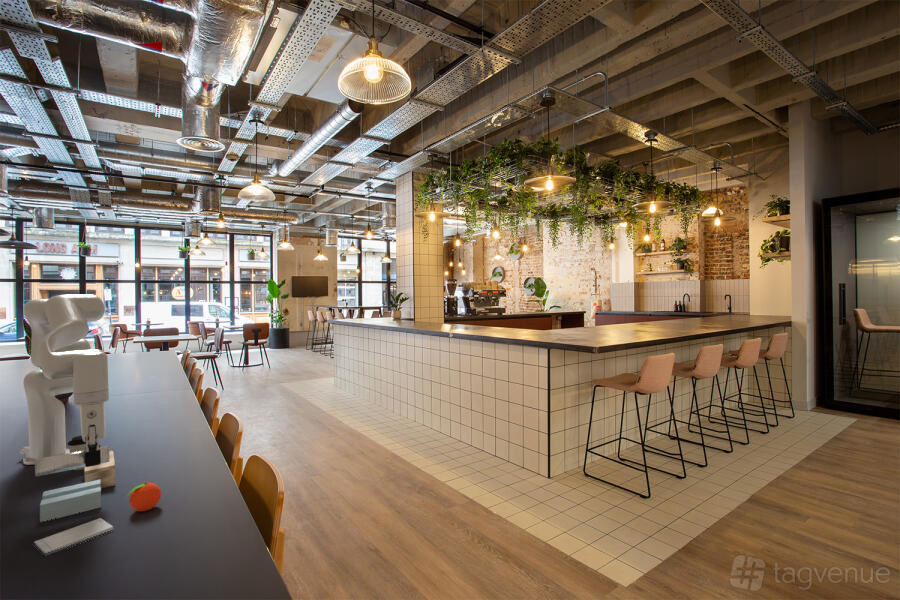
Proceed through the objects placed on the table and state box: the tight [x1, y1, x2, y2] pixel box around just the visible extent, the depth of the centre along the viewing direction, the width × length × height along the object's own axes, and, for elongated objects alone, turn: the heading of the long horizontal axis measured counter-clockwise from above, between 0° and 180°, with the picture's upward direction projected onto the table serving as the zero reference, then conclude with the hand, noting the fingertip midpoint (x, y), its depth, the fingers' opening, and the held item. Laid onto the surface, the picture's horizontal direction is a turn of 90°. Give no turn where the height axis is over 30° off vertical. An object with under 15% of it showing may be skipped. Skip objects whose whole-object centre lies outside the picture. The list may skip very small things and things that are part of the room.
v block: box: [39, 480, 102, 523], centre depth 118 cm, size 12×12×4 cm
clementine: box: [125, 482, 162, 512], centre depth 115 cm, size 8×7×7 cm
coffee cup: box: [67, 435, 86, 471], centre depth 145 cm, size 7×7×10 cm
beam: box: [84, 450, 116, 489], centre depth 135 cm, size 7×16×6 cm, turn 39°
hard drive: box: [33, 517, 114, 553], centre depth 102 cm, size 2×8×12 cm
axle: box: [34, 445, 110, 478], centre depth 118 cm, size 15×4×4 cm, turn 129°
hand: (93, 462), depth 121 cm, fingers closed on axle, 4 cm apart
